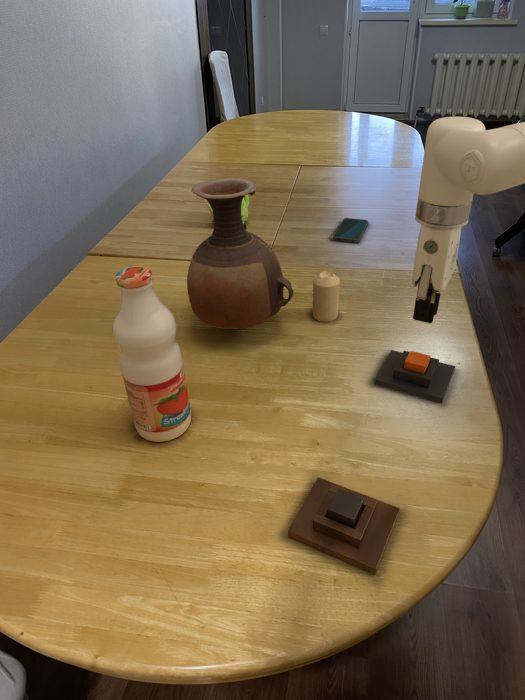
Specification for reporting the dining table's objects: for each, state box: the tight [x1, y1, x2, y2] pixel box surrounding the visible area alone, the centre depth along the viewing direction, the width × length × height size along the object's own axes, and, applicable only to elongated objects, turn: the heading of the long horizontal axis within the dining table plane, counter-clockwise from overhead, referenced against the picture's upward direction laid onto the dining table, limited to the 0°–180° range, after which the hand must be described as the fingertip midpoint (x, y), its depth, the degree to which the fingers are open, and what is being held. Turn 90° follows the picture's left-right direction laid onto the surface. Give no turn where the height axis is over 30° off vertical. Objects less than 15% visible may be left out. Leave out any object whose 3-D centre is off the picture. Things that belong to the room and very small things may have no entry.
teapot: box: [205, 194, 251, 224], centre depth 155 cm, size 12×12×10 cm
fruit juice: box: [112, 265, 192, 443], centre depth 78 cm, size 9×9×28 cm
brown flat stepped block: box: [287, 477, 401, 575], centre depth 68 cm, size 12×10×3 cm
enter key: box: [404, 350, 431, 374], centre depth 92 cm, size 4×4×2 cm
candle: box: [312, 270, 341, 322], centre depth 110 cm, size 6×6×10 cm
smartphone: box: [332, 217, 369, 244], centre depth 148 cm, size 8×15×1 cm, turn 160°
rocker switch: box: [327, 489, 364, 528], centre depth 67 cm, size 4×4×2 cm
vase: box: [186, 177, 294, 330], centre depth 101 cm, size 23×19×30 cm
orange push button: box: [373, 349, 456, 404], centre depth 93 cm, size 12×10×3 cm
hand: (424, 316), depth 86 cm, fingers closed
